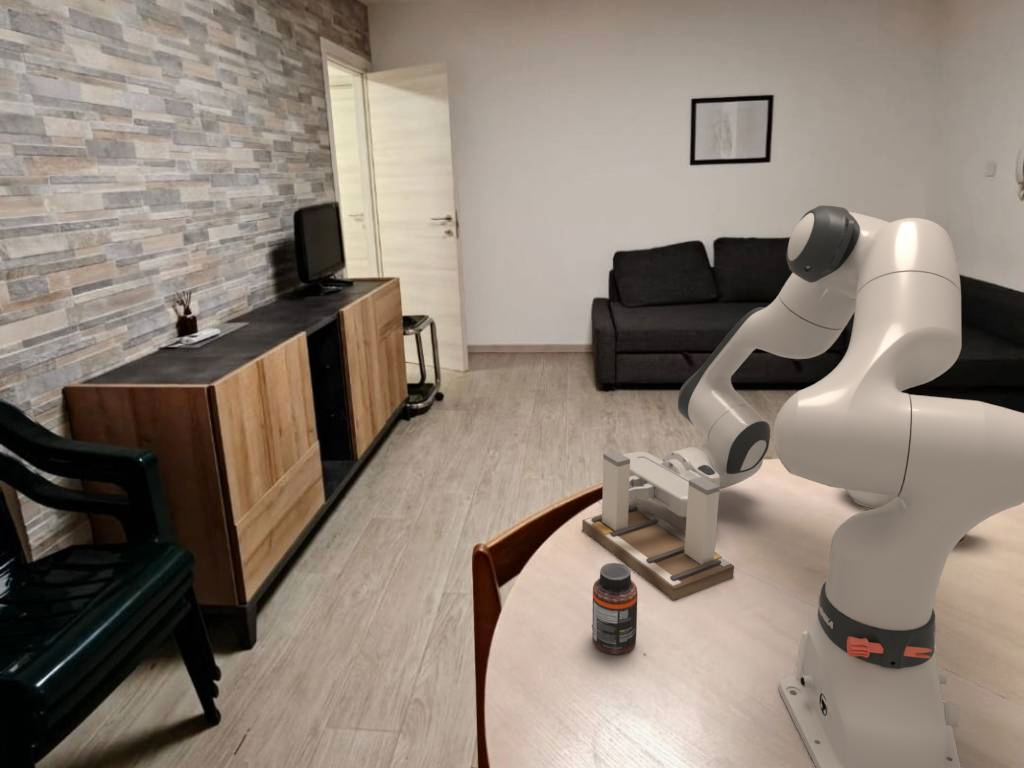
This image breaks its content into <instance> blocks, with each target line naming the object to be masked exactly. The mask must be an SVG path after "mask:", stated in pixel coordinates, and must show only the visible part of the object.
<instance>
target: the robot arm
mask: <svg viewBox="0 0 1024 768" xmlns="http://www.w3.org/2000/svg"><path fill="white" fill-rule="evenodd" d="M786 262H787V265H788V268H789V270H790V272H791V273H790V275H789V277H788V278H787V280H786V281H785V283H784V285H783V286H782V287H781V290H780V292H779V293H778V295H777V296H776V298H775V299H774V300H773V301H772V302H771V303H770V304H768V305H767V306H766V307H764V306H763V307H761V306H760V307H755V308H754V309H751V310H750V311H748V312H747V313H746V314H744V316H742V317H741V318H740V319H739V321H738V322H737V323H735V325H734V326H733V327H732V329H731V330H730V331H729V332H728V333H727V334H726V336H725V337H724V338H723V340H722V341H721V342H720V343H719V344H718V346H717V347H716V348H715V350H713V352H712V353H711V354H710V355H709V357H708V358H707V359H706V360H705V362H704V363H703V364H702V365H701V367H700V368H699V369H698V370H697V371H696V372H694V374H693V375H691V376H690V377H689V378H688V379H687V380H686V381H685V382H684V383H683V384H682V386H681V387H680V390H679V392H678V396H677V409H678V412H679V413H680V415H682V416H683V417H684V418H685V419H686V420H687V421H688V422H689V423H690V424H692V425H693V426H694V427H695V428H696V429H697V430H698V431H699V432H700V434H702V436H703V437H704V438H705V439H706V442H705V443H703V444H702V445H700V446H699V445H697V446H696V445H694V446H688V447H685V448H681V449H677V450H673V451H670V452H668V453H666V455H665V456H664V457H663V459H661V458H659V457H657V456H655V455H653V454H651V453H649V452H645V451H633V452H627V453H623V454H622V453H621V454H622V455H624V456H626V457H627V458H629V459H630V477H629V501H630V500H633V499H643V500H648V499H650V500H651V501H654V502H655V503H657V504H659V505H660V506H662V507H664V508H665V509H666V510H669V511H670V512H671V513H673V514H675V515H676V516H678V517H681V518H687V502H688V486H689V480H692V479H695V478H698V477H703V478H705V479H707V480H708V481H710V482H712V483H714V484H716V485H718V486H720V489H719V494H720V490H721V489H722V490H723V489H726V488H728V487H732V486H735V485H737V484H739V483H741V482H743V481H745V480H747V479H749V478H751V477H752V476H754V475H756V474H757V473H758V471H760V470H761V468H762V465H763V462H764V457H765V455H766V454H767V452H768V449H769V445H770V441H771V426H770V424H769V422H767V420H766V419H765V418H764V417H763V416H762V415H761V414H760V413H759V412H758V411H757V410H756V409H755V408H754V407H753V406H752V405H750V404H749V403H748V402H747V401H746V399H744V398H743V397H742V396H741V395H740V394H739V393H738V392H737V391H736V390H735V388H734V387H733V384H732V376H733V375H734V374H735V372H736V371H737V370H738V369H739V368H740V367H741V365H742V364H743V363H744V362H746V360H747V359H748V358H749V356H750V355H751V354H752V353H753V351H755V350H756V349H758V350H761V351H764V352H767V353H770V354H772V355H775V356H778V357H782V358H787V359H793V360H803V359H812V358H815V357H817V356H820V355H822V354H824V353H826V352H827V350H829V349H830V348H831V347H832V346H833V344H834V343H835V342H837V340H838V339H839V337H840V336H841V333H842V332H844V329H845V328H846V326H847V325H848V323H849V322H850V320H851V319H852V316H853V315H854V316H853V323H852V329H851V336H850V339H849V344H848V348H847V350H846V351H845V352H846V353H845V355H844V356H843V357H842V359H841V360H840V362H839V363H838V364H837V366H836V367H834V369H833V370H832V371H831V372H830V373H828V374H827V375H826V376H824V377H823V378H822V379H820V380H819V381H817V382H815V383H814V384H811V385H810V386H807V387H805V388H803V389H800V390H798V391H797V392H795V393H793V394H792V395H791V396H790V397H788V399H787V400H786V401H785V402H784V404H783V405H782V406H781V408H780V409H779V412H778V413H777V416H776V418H775V421H774V425H773V426H774V427H773V432H772V433H773V445H774V449H775V452H776V455H777V457H778V459H779V461H780V463H781V464H782V465H783V467H784V468H785V470H786V471H787V472H788V473H789V474H790V475H793V476H794V475H795V476H796V477H800V478H803V479H806V480H807V481H811V482H815V483H817V484H820V485H824V486H826V487H830V488H837V489H843V490H845V489H849V490H856V491H863V492H870V493H877V494H884V495H891V496H897V497H896V498H894V499H893V500H892V501H890V502H889V503H887V504H886V505H884V506H881V507H879V508H876V509H872V508H871V509H869V510H865V511H861V512H859V513H856V514H854V515H852V516H851V517H848V518H847V519H845V520H844V522H842V523H841V524H840V525H838V527H837V528H836V530H835V531H834V533H833V535H832V537H831V544H830V551H829V559H828V566H827V573H826V581H825V582H824V583H823V585H822V586H821V589H820V593H819V596H818V600H817V619H816V620H815V621H814V622H813V623H812V624H811V625H810V626H808V627H807V628H806V629H805V630H804V631H803V632H802V633H801V636H800V641H799V645H798V646H799V647H798V651H797V656H796V661H795V667H794V671H793V674H791V675H788V676H786V677H783V678H782V679H781V680H780V682H779V684H778V685H779V686H778V692H779V694H780V696H781V698H782V700H783V702H784V704H785V706H786V709H787V711H788V712H789V715H790V717H791V719H792V721H793V723H794V725H795V727H796V728H797V731H798V734H799V736H800V738H801V739H802V741H803V743H804V746H805V747H806V750H807V752H808V753H809V756H810V758H811V760H812V762H813V763H814V766H815V768H961V763H960V758H959V754H958V748H957V744H956V740H955V739H956V738H955V734H954V729H953V727H954V728H955V727H959V722H960V709H959V706H958V705H956V704H954V703H950V702H947V701H946V700H945V699H944V698H943V694H942V686H941V685H944V686H945V685H947V682H948V675H947V672H946V671H942V670H939V668H938V662H937V655H936V652H937V645H936V644H935V643H936V641H935V640H936V637H937V626H936V614H935V610H934V604H935V599H936V594H937V592H938V587H939V584H940V580H941V576H942V573H943V570H944V569H945V564H946V562H947V559H948V557H949V556H950V554H951V552H952V550H953V549H954V548H955V547H956V545H957V543H958V542H959V541H960V540H961V539H962V537H963V536H964V535H965V536H966V535H967V534H968V533H969V532H970V531H971V530H973V528H975V527H977V526H978V525H979V524H980V523H982V522H984V521H986V520H987V519H989V518H991V517H993V516H995V515H996V514H999V513H1001V512H1003V511H1006V510H1009V509H1011V508H1014V507H1018V506H1020V505H1022V504H1024V412H1022V411H1021V412H1020V411H1017V410H1013V409H1010V408H1007V407H1004V406H999V405H995V404H991V403H988V402H985V401H980V400H973V399H963V398H962V399H961V398H951V397H943V396H942V397H941V396H939V397H938V396H929V395H919V394H918V395H917V394H909V393H907V392H903V391H906V390H908V389H910V388H915V387H917V386H920V385H924V384H927V383H929V382H932V381H934V380H935V379H936V378H938V377H940V376H941V375H943V374H944V373H946V372H947V371H948V370H950V369H951V368H952V367H953V365H954V364H955V363H956V361H957V360H958V358H959V356H960V354H961V351H962V289H961V287H962V286H961V278H960V270H959V264H958V259H957V256H956V252H955V248H954V245H953V241H952V239H951V237H950V235H949V234H948V232H947V231H946V230H945V228H943V226H941V225H939V223H936V222H935V221H932V220H930V219H925V218H921V217H906V218H901V219H897V220H894V221H891V222H890V221H886V220H884V219H880V218H878V217H874V216H871V215H866V214H862V213H858V212H854V211H852V212H851V211H848V210H847V208H846V207H841V206H834V205H818V206H816V207H814V208H813V209H812V208H811V209H810V210H808V211H807V212H806V213H805V214H804V215H803V216H802V217H801V219H799V221H798V222H797V224H796V225H795V227H794V229H793V230H792V232H791V235H790V237H789V241H788V245H787V249H786ZM958 544H959V543H958Z"/></svg>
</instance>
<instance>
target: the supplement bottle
mask: <svg viewBox="0 0 1024 768" xmlns="http://www.w3.org/2000/svg"><path fill="white" fill-rule="evenodd" d="M631 572H632V571H631V569H630V568H629V566H628V565H625V564H622V563H618V562H610V563H605V564H604V565H602V566H601V568H600V570H599V574H600V575H599V578H598V579H597V580H596V581H594V583H593V587H592V625H591V629H592V633H591V634H592V641H593V643H594V645H595V647H596V648H597V649H598V650H599V651H600V652H604V653H607V654H611V655H622V654H626V653H628V652H630V651H632V650H633V649H634V647H635V646H636V643H637V642H636V641H637V628H638V627H637V624H638V623H637V621H638V587H637V585H636V583H635V582H634V581H633V579H632V578H631V576H632V575H631Z"/></svg>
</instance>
